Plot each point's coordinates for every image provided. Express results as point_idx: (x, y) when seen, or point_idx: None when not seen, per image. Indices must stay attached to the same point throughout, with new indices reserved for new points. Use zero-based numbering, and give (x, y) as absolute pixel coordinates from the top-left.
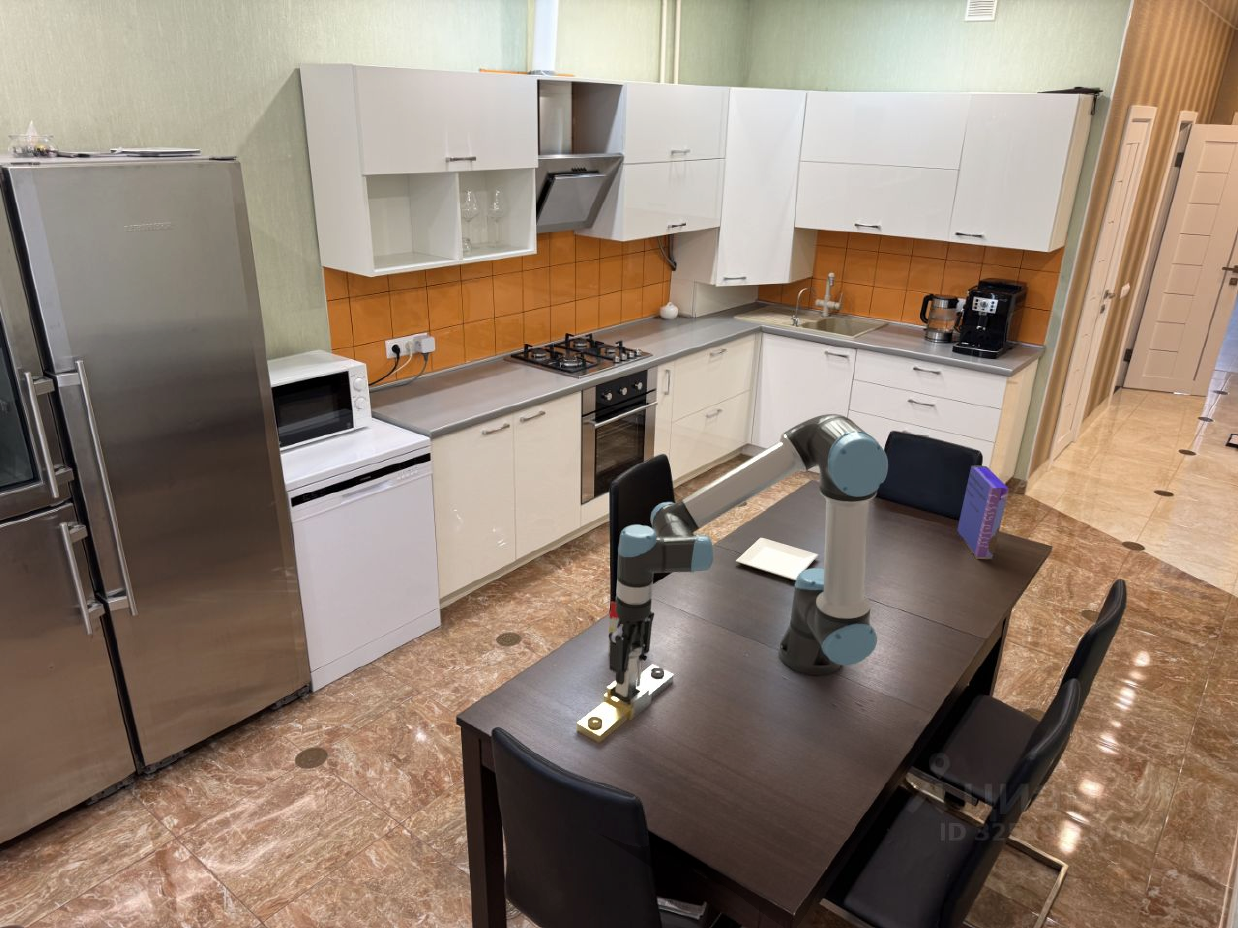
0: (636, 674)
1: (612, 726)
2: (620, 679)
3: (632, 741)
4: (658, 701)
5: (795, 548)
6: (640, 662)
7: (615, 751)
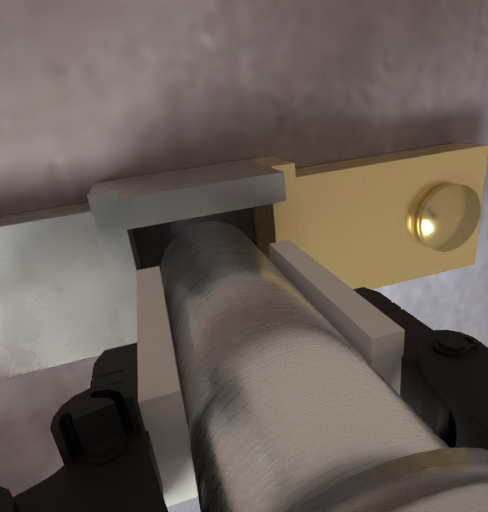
0: (246, 294)
1: (397, 158)
2: (400, 311)
3: (370, 39)
4: (41, 168)
5: None
6: (163, 387)
7: (459, 52)
